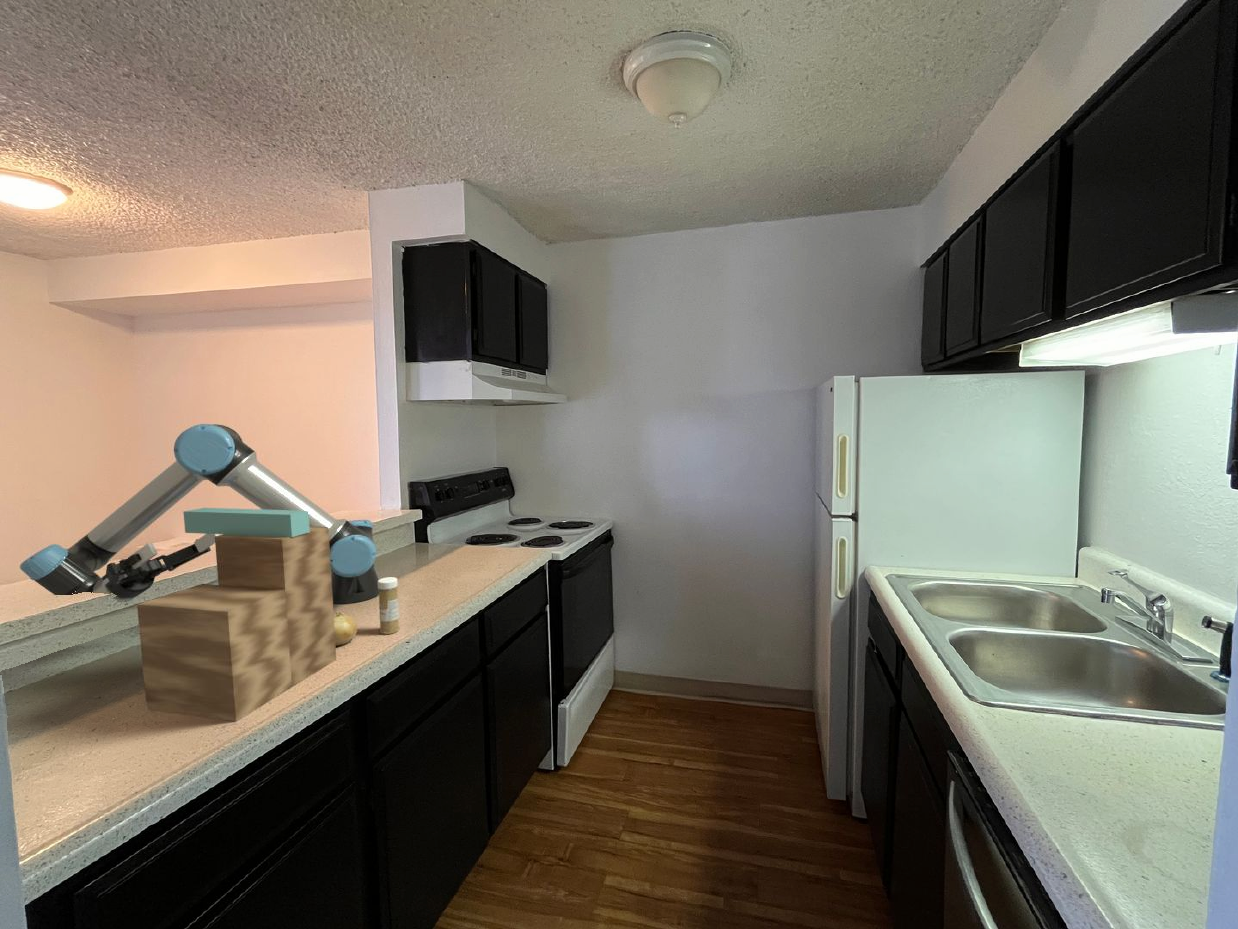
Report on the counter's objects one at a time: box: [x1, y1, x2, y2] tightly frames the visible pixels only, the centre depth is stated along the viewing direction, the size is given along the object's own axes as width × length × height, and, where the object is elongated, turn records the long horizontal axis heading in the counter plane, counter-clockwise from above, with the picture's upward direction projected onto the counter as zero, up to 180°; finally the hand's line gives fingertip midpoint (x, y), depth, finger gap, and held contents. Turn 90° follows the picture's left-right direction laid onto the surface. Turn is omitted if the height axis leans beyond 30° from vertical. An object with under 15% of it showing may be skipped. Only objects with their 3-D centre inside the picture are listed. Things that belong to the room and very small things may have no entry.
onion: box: [333, 611, 358, 647], centre depth 123 cm, size 8×8×7 cm
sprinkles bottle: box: [378, 576, 400, 635], centre depth 129 cm, size 5×5×14 cm
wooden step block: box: [136, 526, 337, 722], centre depth 104 cm, size 24×20×30 cm
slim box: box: [182, 507, 310, 537], centre depth 107 cm, size 4×26×4 cm, turn 79°
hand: (186, 541), depth 113 cm, fingers open, 13 cm apart
